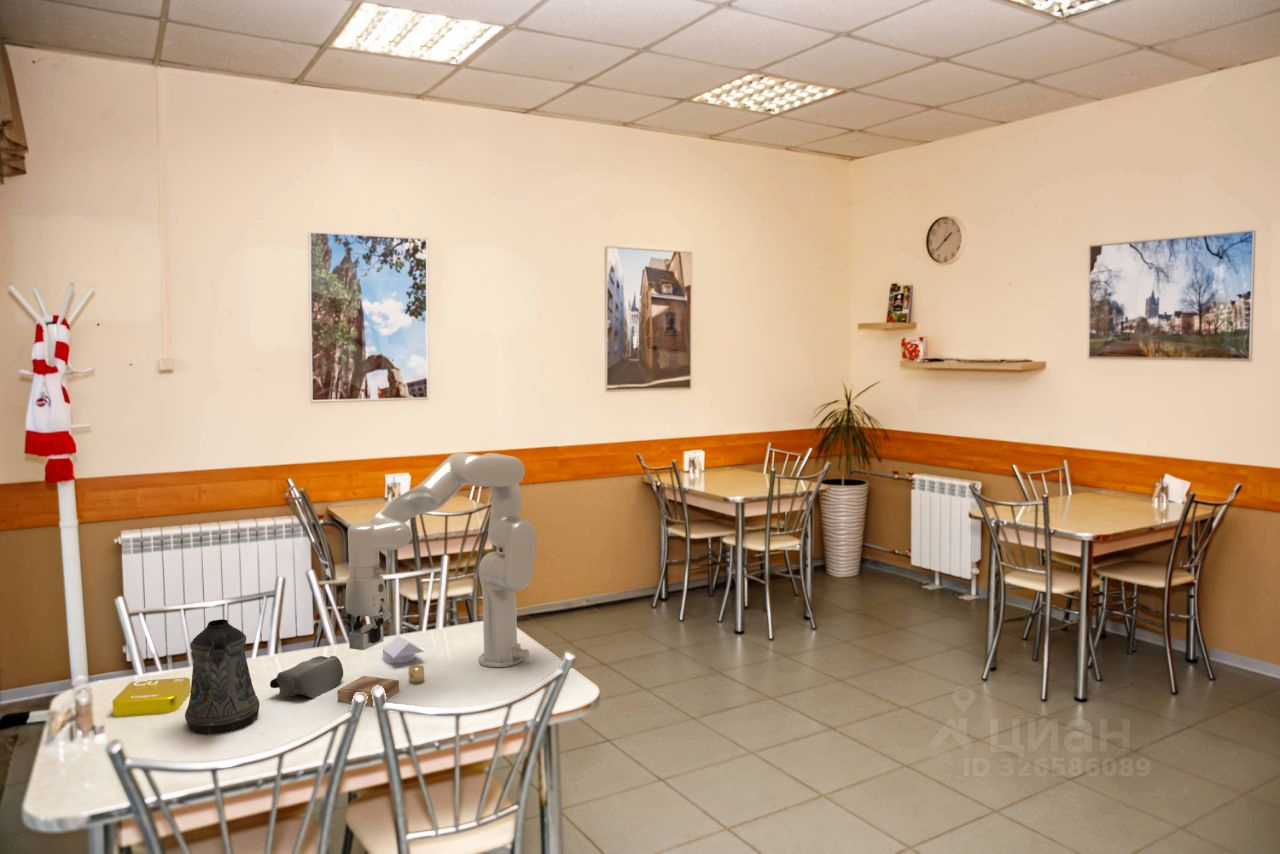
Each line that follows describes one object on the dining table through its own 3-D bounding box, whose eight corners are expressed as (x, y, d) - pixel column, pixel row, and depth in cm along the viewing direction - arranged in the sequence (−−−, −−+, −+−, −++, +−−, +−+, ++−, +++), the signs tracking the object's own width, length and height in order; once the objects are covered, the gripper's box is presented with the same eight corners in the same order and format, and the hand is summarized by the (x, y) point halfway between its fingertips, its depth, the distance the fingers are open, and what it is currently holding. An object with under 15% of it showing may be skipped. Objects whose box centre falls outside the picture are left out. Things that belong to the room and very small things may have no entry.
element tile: (110, 719, 228) (109, 700, 228) (131, 697, 243) (130, 679, 242) (176, 714, 231) (174, 695, 231) (192, 692, 246) (191, 674, 245)
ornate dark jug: (239, 703, 237) (234, 607, 235) (279, 722, 224) (274, 621, 222) (173, 723, 224) (167, 623, 222) (211, 745, 212) (206, 638, 210)
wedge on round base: (424, 662, 266) (408, 650, 276) (423, 640, 265) (407, 628, 276) (394, 669, 260) (378, 656, 271) (393, 646, 260) (377, 634, 271)
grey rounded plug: (317, 675, 256) (315, 648, 256) (349, 680, 252) (348, 652, 252) (268, 699, 240) (267, 669, 239) (302, 705, 235) (301, 675, 235)
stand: (399, 691, 244) (398, 679, 243) (374, 706, 233) (373, 694, 233) (363, 686, 247) (363, 674, 247) (337, 701, 237) (337, 689, 237)
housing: (363, 650, 234) (362, 633, 234) (349, 648, 236) (348, 631, 236) (383, 641, 242) (383, 624, 241) (369, 639, 243) (369, 622, 243)
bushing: (427, 680, 252) (426, 665, 251) (419, 685, 248) (418, 670, 248) (414, 678, 253) (413, 664, 253) (406, 683, 249) (405, 669, 249)
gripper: (401, 570, 238) (403, 639, 240) (345, 565, 244) (348, 633, 245) (384, 577, 231) (386, 648, 233) (327, 572, 237) (330, 642, 238)
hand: (367, 640), depth 239 cm, fingers closed on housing, 4 cm apart
